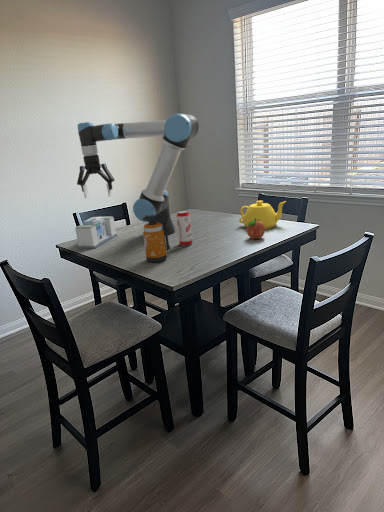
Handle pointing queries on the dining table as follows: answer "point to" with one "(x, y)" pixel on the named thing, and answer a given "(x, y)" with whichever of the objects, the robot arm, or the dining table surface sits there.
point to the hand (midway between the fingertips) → (98, 197)
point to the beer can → (184, 228)
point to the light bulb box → (97, 226)
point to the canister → (155, 238)
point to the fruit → (255, 229)
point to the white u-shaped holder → (94, 234)
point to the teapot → (261, 214)
